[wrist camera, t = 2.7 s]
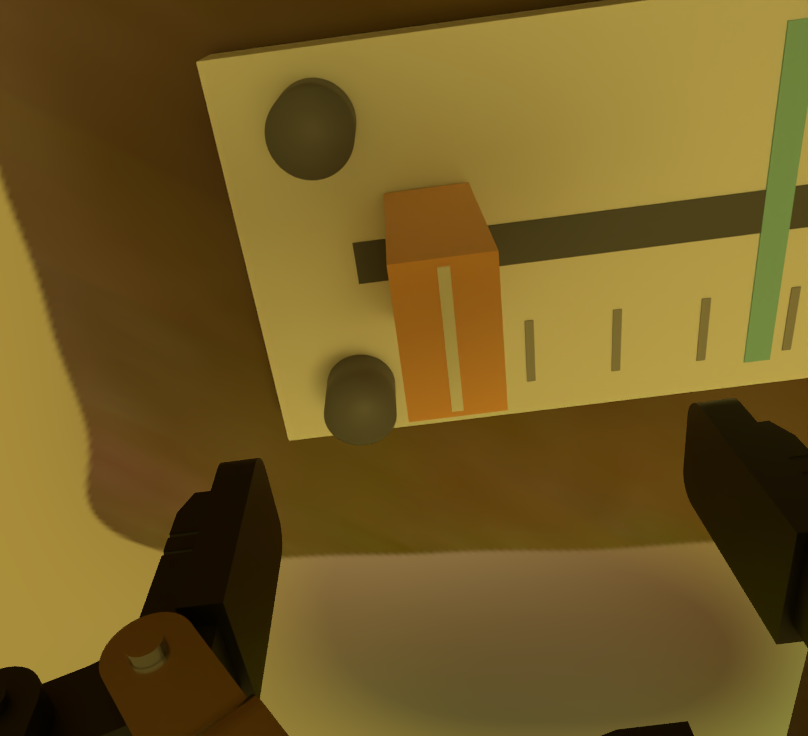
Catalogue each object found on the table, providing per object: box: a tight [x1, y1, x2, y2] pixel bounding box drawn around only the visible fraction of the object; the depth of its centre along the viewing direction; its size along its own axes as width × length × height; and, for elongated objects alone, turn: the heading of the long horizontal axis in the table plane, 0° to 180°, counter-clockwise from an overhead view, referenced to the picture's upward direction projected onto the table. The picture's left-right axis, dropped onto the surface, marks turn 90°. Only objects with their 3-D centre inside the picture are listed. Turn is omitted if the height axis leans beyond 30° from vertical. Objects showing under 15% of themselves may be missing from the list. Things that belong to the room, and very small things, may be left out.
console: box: [196, 0, 808, 445], centre depth 23 cm, size 13×24×4 cm, turn 97°
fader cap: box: [384, 182, 508, 422], centre depth 20 cm, size 4×3×6 cm, turn 7°
